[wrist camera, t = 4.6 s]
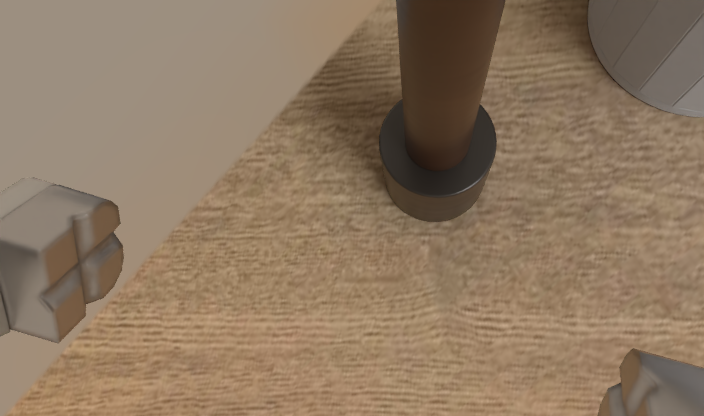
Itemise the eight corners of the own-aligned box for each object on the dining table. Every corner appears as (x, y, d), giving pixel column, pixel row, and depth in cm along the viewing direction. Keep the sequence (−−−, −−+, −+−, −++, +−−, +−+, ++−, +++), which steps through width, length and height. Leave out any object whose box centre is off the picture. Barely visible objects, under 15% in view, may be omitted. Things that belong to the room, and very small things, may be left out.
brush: (366, 191, 25) (282, -76, 9) (416, 111, 25) (412, -265, 10) (453, 240, 24) (517, 35, 9) (502, 156, 25) (644, -179, 9)
